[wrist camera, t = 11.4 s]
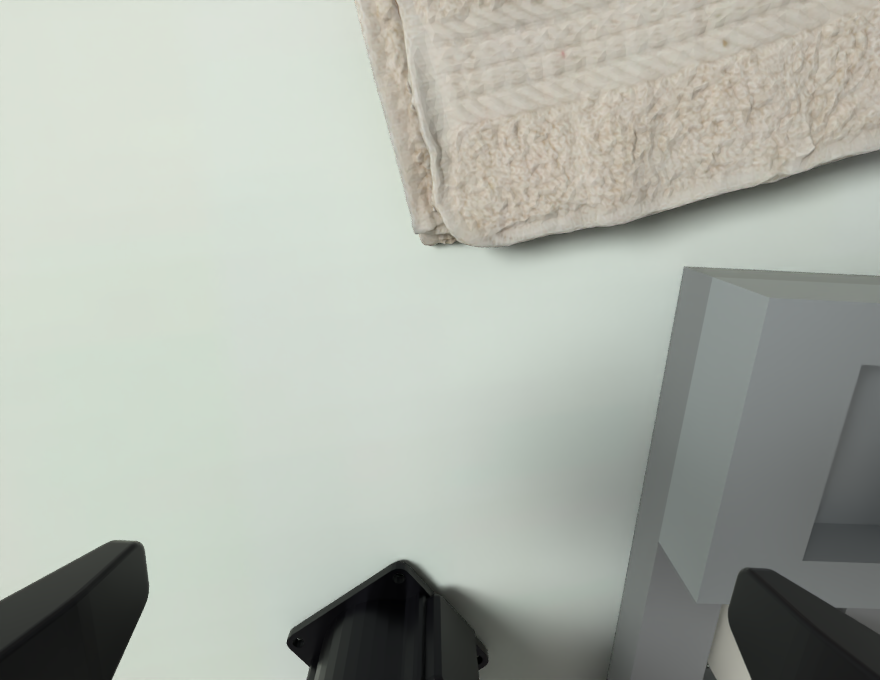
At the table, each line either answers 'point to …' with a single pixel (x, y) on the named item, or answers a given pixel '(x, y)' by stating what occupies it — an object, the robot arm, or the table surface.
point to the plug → (726, 652)
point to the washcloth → (612, 105)
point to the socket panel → (756, 460)
